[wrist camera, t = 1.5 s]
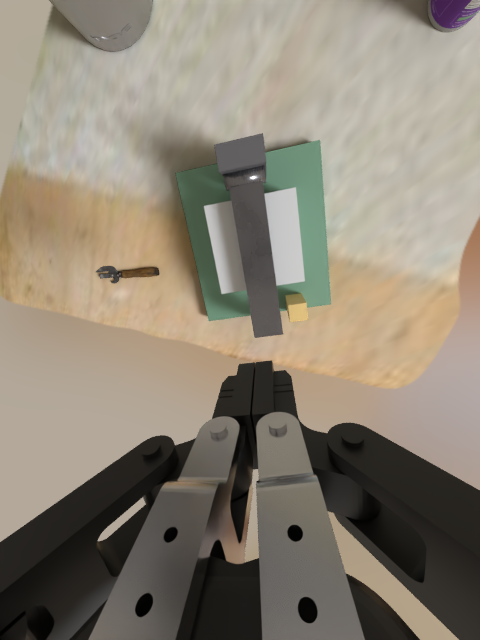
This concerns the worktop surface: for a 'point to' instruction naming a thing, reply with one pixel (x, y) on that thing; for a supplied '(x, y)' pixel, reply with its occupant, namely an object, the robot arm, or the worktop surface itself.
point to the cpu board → (309, 219)
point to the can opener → (127, 273)
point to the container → (451, 13)
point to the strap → (255, 248)
